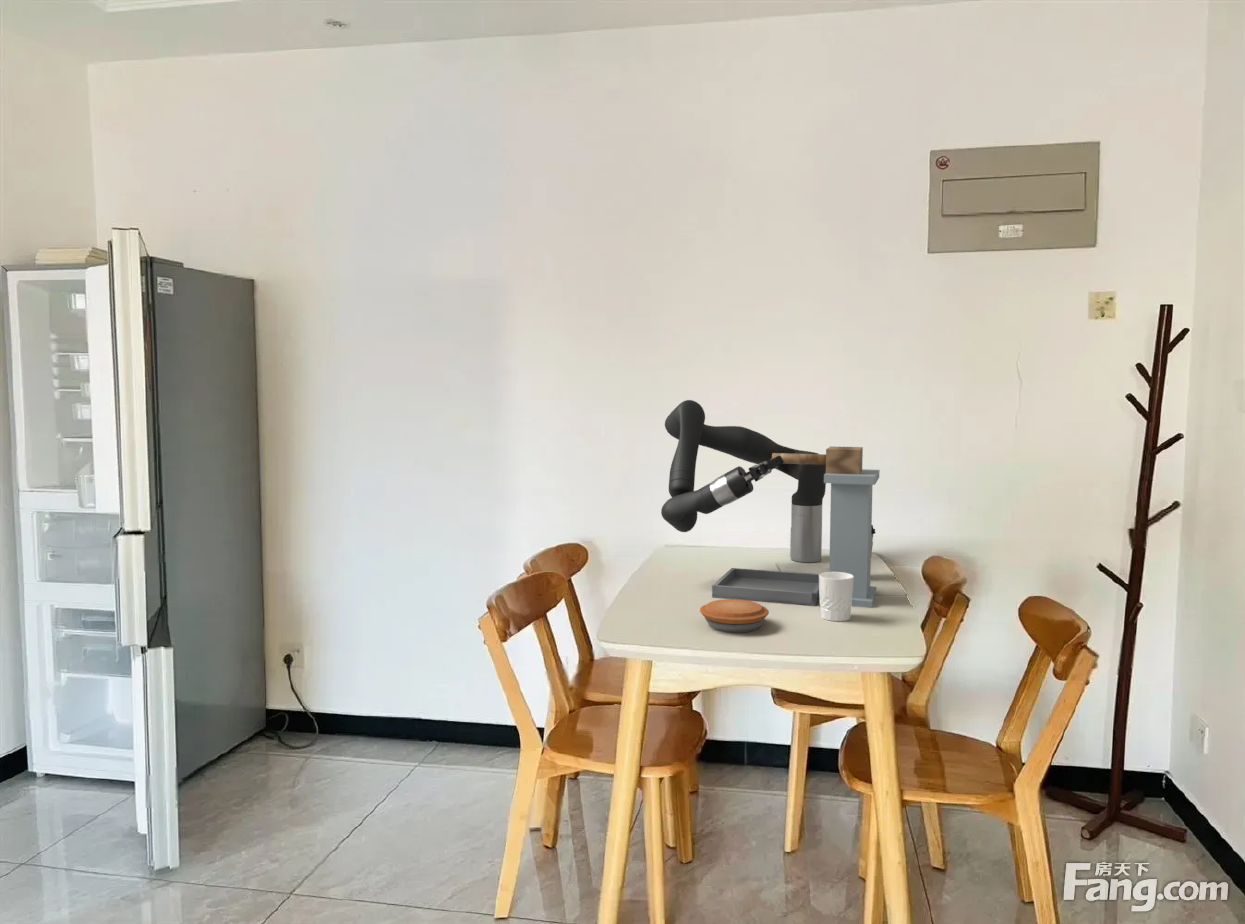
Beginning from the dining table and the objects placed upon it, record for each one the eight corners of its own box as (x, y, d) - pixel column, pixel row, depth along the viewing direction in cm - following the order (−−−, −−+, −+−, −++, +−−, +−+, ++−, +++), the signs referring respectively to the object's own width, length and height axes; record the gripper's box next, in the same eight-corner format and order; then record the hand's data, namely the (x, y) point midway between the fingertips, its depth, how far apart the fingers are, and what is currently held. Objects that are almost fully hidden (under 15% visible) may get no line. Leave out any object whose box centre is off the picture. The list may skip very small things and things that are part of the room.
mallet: (769, 471, 220) (769, 447, 219) (775, 468, 228) (776, 445, 228) (859, 474, 213) (859, 449, 212) (862, 470, 221) (862, 447, 220)
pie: (780, 632, 191) (781, 610, 191) (715, 638, 187) (715, 616, 187) (751, 614, 206) (751, 593, 206) (689, 619, 202) (689, 598, 201)
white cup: (854, 614, 205) (855, 573, 204) (851, 623, 198) (852, 580, 197) (820, 611, 207) (820, 570, 207) (816, 620, 200) (816, 577, 199)
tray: (712, 597, 222) (712, 585, 221) (731, 578, 242) (731, 567, 242) (815, 606, 213) (815, 594, 212) (826, 585, 233) (827, 574, 233)
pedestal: (821, 603, 215) (823, 474, 212) (829, 588, 230) (831, 468, 227) (871, 607, 211) (875, 476, 208) (876, 592, 226) (879, 469, 223)
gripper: (717, 477, 222) (772, 446, 217) (730, 471, 235) (782, 442, 230) (732, 502, 222) (787, 472, 216) (744, 495, 235) (796, 467, 229)
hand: (785, 457), depth 223 cm, fingers open, 8 cm apart
